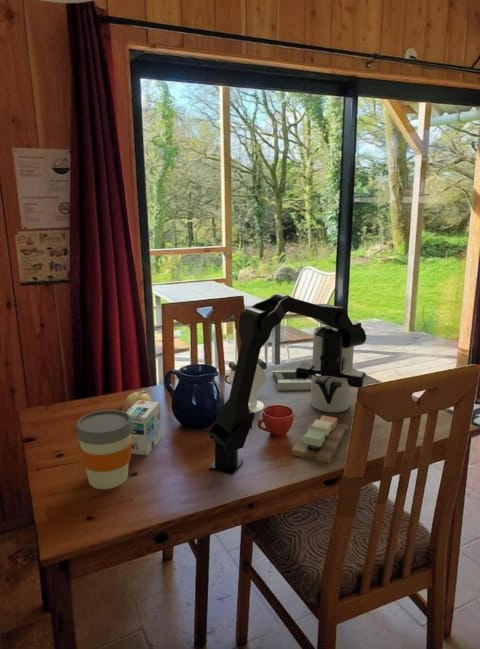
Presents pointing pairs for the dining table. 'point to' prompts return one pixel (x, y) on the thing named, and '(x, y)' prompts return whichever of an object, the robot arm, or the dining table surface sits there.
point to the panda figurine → (257, 384)
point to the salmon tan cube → (329, 419)
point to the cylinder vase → (342, 393)
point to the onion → (136, 398)
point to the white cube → (322, 426)
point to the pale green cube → (314, 438)
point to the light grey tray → (291, 381)
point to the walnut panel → (326, 448)
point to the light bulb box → (145, 426)
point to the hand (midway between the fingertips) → (329, 403)
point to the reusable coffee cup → (105, 447)
